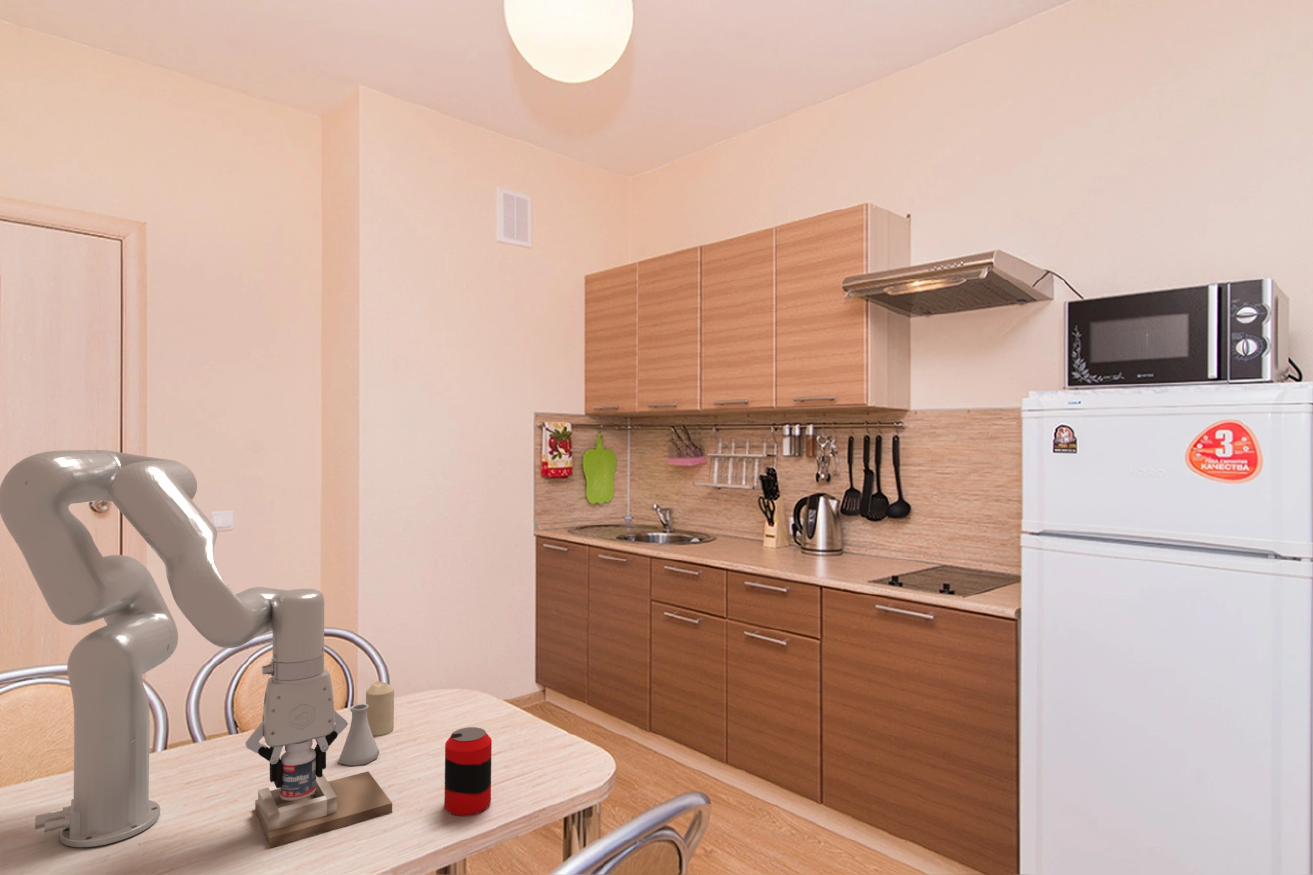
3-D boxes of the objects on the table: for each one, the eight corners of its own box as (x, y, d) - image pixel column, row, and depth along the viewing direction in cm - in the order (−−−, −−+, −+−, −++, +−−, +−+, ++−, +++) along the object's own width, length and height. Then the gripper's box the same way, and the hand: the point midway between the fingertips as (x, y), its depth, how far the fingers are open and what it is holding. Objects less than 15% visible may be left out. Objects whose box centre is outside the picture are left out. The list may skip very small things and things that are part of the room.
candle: (399, 729, 153) (399, 682, 153) (376, 738, 149) (377, 689, 149) (382, 723, 156) (382, 677, 156) (359, 732, 152) (360, 684, 152)
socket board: (269, 847, 109) (270, 821, 109) (255, 809, 120) (255, 784, 120) (392, 811, 120) (392, 787, 120) (368, 779, 131) (368, 757, 131)
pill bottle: (276, 803, 114) (276, 747, 114) (283, 788, 119) (283, 734, 119) (313, 799, 116) (313, 743, 116) (318, 784, 121) (318, 730, 121)
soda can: (441, 798, 124) (442, 728, 124) (486, 790, 127) (487, 722, 127) (447, 820, 117) (448, 746, 117) (494, 811, 120) (495, 738, 120)
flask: (385, 751, 143) (386, 700, 143) (367, 767, 136) (368, 714, 136) (350, 749, 143) (351, 698, 143) (330, 765, 136) (331, 712, 136)
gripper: (241, 684, 109) (240, 804, 109) (360, 663, 120) (359, 773, 120) (234, 671, 115) (234, 785, 115) (348, 652, 126) (348, 757, 126)
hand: (298, 778), depth 118 cm, fingers closed on pill bottle, 5 cm apart
